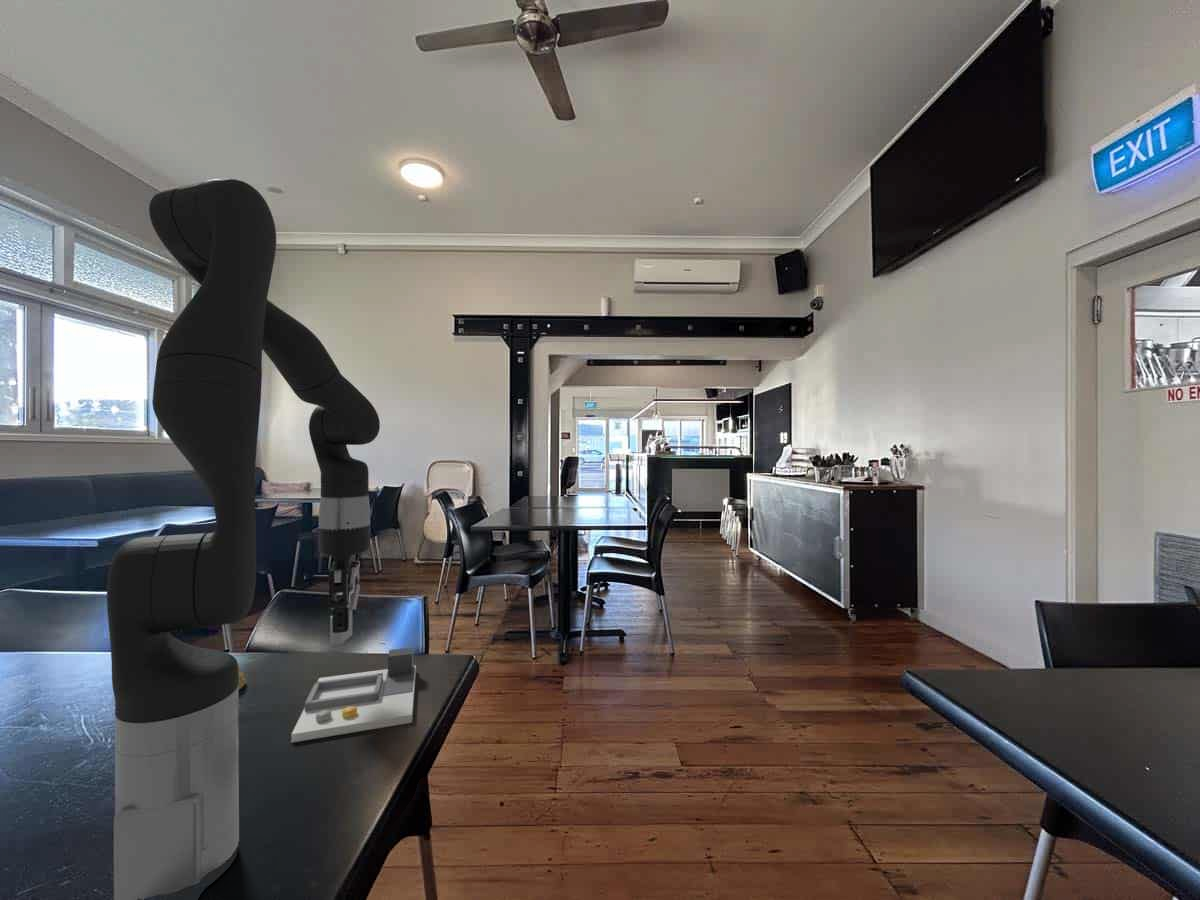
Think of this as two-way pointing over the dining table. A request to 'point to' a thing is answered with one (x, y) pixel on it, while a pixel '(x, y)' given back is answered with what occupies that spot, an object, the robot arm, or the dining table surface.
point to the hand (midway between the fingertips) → (344, 623)
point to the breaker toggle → (400, 661)
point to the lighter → (342, 636)
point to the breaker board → (356, 704)
